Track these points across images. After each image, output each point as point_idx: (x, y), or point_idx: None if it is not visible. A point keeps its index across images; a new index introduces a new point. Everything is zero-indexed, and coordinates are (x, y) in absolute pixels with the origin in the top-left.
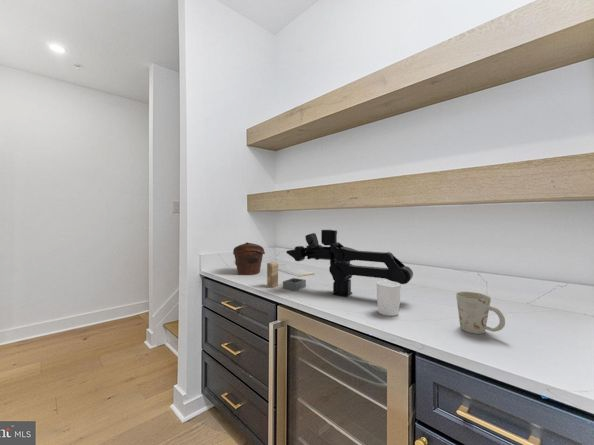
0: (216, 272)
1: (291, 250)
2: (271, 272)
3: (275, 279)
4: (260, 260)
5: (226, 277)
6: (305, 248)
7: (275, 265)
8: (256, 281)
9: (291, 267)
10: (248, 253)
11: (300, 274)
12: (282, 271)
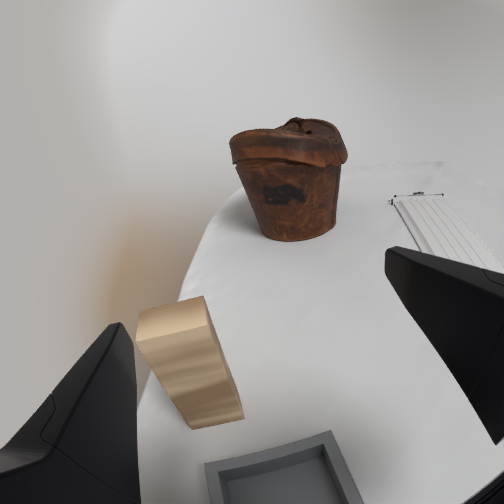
0: (231, 205)
1: (51, 401)
2: (159, 377)
3: (210, 403)
4: (320, 191)
5: (205, 243)
6: (489, 308)
7: (179, 346)
8: (231, 312)
9: (459, 218)
10: (254, 168)
11: None
12: (415, 239)
